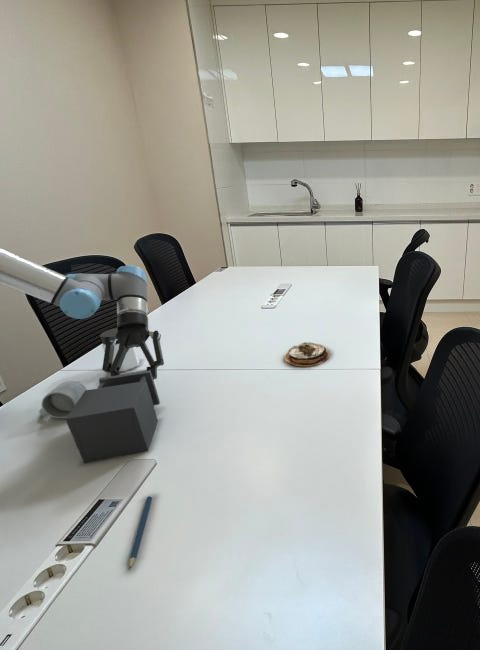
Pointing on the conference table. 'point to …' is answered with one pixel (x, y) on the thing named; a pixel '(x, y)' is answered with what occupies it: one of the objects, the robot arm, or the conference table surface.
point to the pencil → (140, 531)
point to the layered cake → (307, 354)
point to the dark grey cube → (113, 421)
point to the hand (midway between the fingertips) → (134, 393)
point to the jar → (131, 356)
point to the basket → (132, 378)
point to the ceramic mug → (62, 399)
